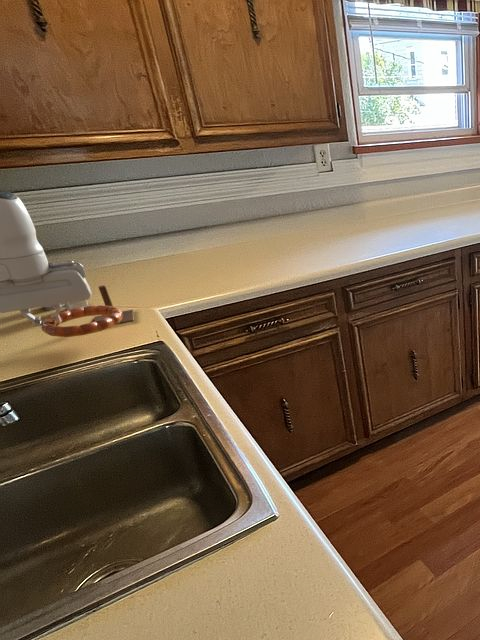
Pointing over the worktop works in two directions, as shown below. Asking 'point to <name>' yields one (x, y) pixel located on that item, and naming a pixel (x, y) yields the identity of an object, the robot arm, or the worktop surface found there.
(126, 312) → the post
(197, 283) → the worktop surface
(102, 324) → the ring
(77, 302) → the medicine box
